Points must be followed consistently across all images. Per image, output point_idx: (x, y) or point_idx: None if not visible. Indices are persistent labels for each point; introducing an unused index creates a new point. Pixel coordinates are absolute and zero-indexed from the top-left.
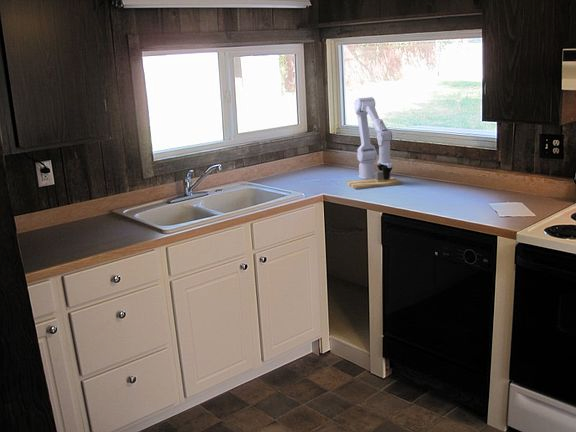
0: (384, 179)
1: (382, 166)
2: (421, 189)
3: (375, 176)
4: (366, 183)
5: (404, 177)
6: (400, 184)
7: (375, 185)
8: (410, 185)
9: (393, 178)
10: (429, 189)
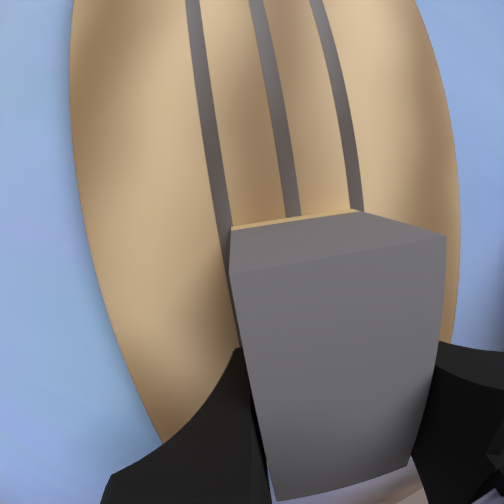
0: None
1: (467, 464)
2: (39, 465)
3: (356, 221)
4: (178, 40)
5: None
6: None
7: (82, 161)
8: None
9: None
10: (46, 485)
